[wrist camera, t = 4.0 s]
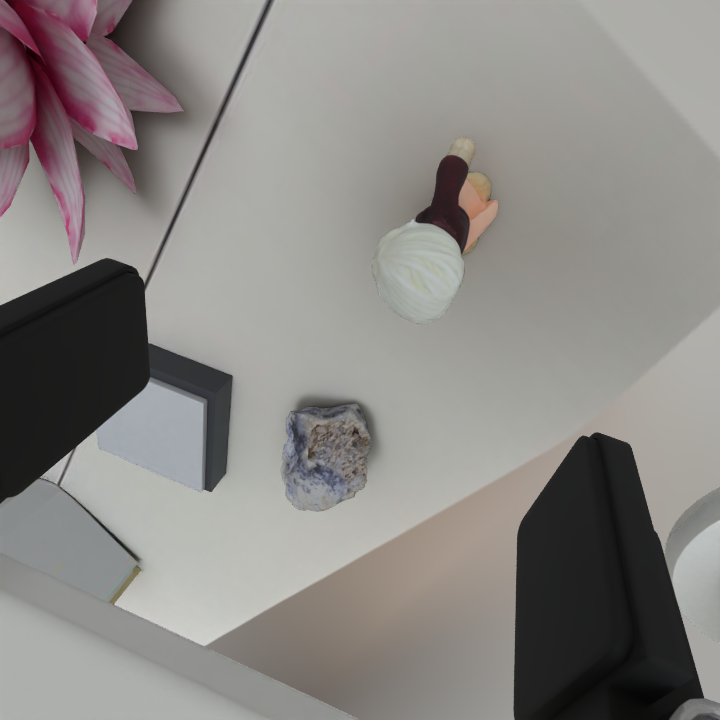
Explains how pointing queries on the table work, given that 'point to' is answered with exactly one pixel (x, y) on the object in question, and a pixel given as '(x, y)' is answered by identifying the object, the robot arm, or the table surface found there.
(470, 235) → the grandmother figurine
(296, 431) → the mineral specimen
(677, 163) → the table surface
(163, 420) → the scale
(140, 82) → the decorative flower
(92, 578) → the book
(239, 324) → the table surface
